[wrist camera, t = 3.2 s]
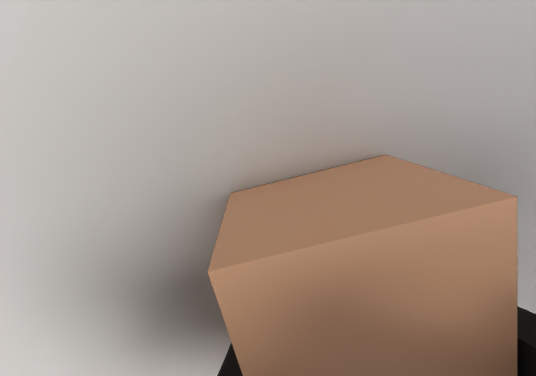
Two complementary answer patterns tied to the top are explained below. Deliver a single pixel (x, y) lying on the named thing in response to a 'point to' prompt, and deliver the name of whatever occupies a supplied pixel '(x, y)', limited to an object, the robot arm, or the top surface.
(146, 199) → the top surface
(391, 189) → the tan rectangular block
